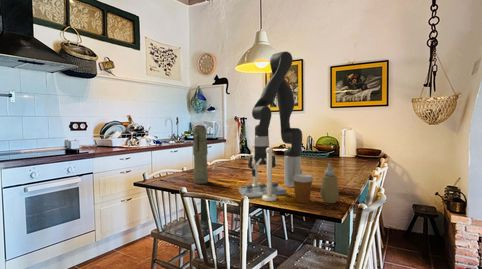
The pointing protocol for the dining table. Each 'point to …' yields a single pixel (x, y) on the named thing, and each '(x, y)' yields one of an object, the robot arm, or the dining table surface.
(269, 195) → the near post
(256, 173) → the far post
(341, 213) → the dining table surface
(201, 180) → the thermos
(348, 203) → the dining table surface
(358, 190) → the dining table surface
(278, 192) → the breaker panel
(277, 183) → the paddle
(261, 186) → the middle paddle
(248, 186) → the paddle
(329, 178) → the squeeze bottle
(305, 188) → the disposable coffee cup
